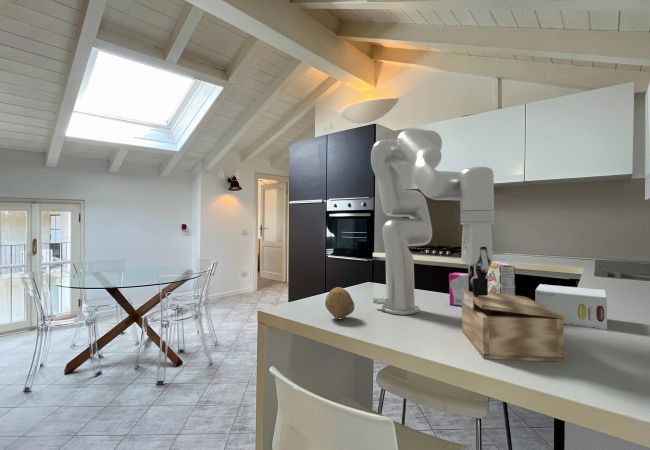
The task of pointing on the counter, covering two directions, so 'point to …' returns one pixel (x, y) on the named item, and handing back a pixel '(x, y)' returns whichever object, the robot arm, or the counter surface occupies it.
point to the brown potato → (339, 302)
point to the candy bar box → (501, 278)
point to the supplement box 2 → (575, 304)
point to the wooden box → (513, 334)
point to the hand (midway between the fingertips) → (477, 292)
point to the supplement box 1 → (457, 287)
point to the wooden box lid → (508, 303)
